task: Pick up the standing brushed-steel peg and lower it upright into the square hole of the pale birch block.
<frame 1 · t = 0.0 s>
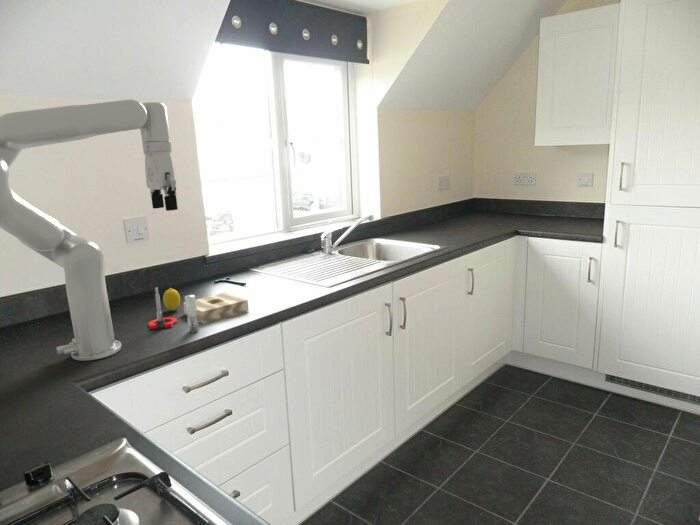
hand: (165, 209, 150), 37 cm above the worktop, tool pointing down, fingers open, 9 cm apart
tow hook: (162, 325, 164), on the worktop
lemon: (173, 311, 177), on the worktop
peg: (194, 331, 156), on the worktop
hole block: (216, 312, 172), on the worktop
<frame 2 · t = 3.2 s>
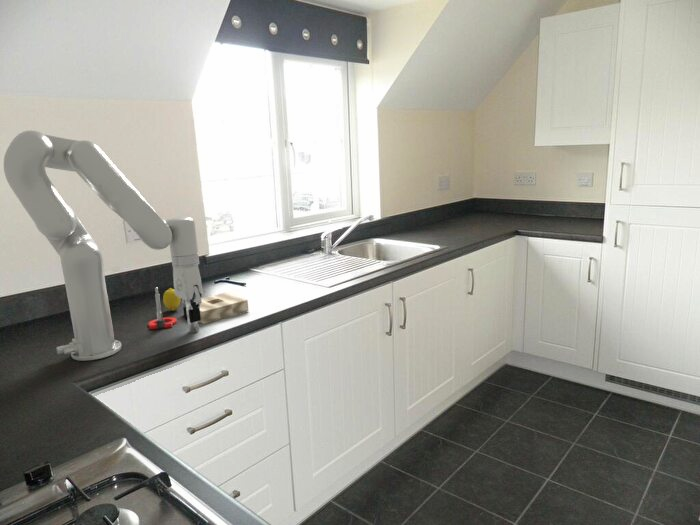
hand: (192, 319, 155), 4 cm above the worktop, tool pointing down, fingers closed on peg, 3 cm apart
peg: (194, 331, 156), on the worktop, touching gripper
everything else where it was.
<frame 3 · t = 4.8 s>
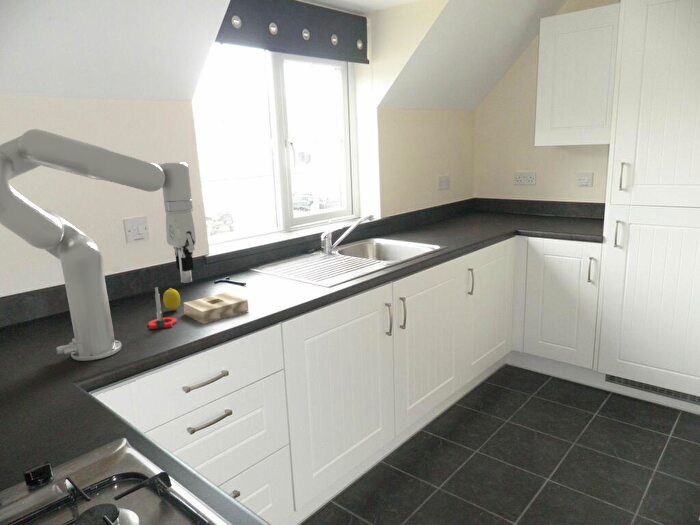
hand: (185, 269, 151), 19 cm above the worktop, tool pointing down, fingers closed on peg, 3 cm apart
peg: (186, 281, 152), point 16 cm above the worktop, touching gripper
everything else where it was.
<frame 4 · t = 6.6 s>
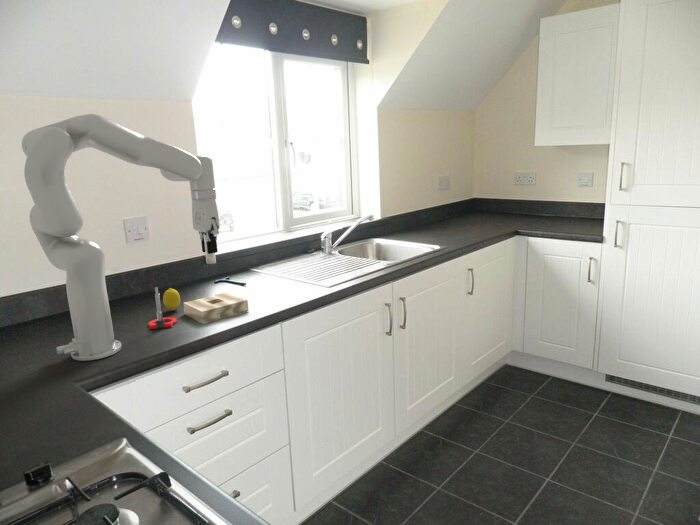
hand: (210, 251, 168), 21 cm above the worktop, tool pointing down, fingers closed on peg, 3 cm apart
peg: (211, 262, 168), point 17 cm above the worktop, touching gripper
everything else where it was.
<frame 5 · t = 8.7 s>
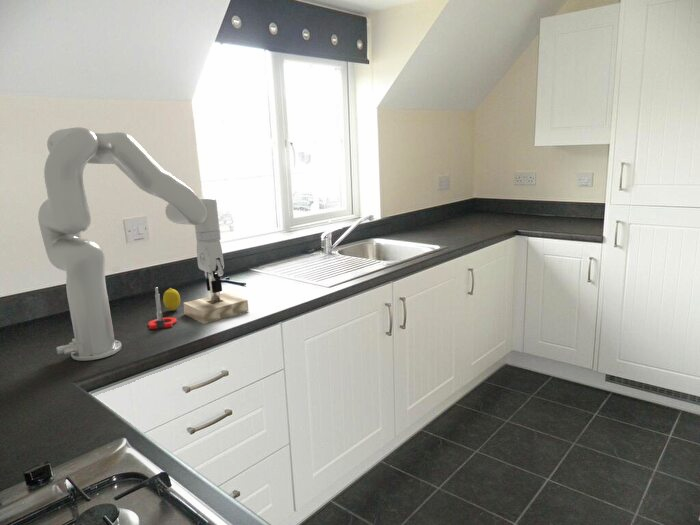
hand: (214, 290, 171), 8 cm above the worktop, tool pointing down, fingers closed on peg, 3 cm apart
peg: (216, 301, 172), point 4 cm above the worktop, touching gripper
everything else where it was.
when the fingers open (5 cm above the worktop, at t = 10.3 s): peg drops 1 cm, on the worktop.
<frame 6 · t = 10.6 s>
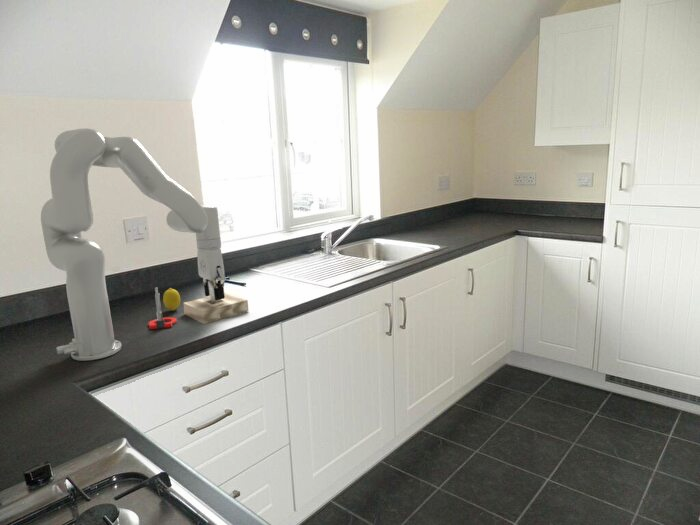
hand: (214, 296, 171), 6 cm above the worktop, tool pointing down, fingers open, 6 cm apart
peg: (216, 312, 172), on the worktop
everything else where it was.
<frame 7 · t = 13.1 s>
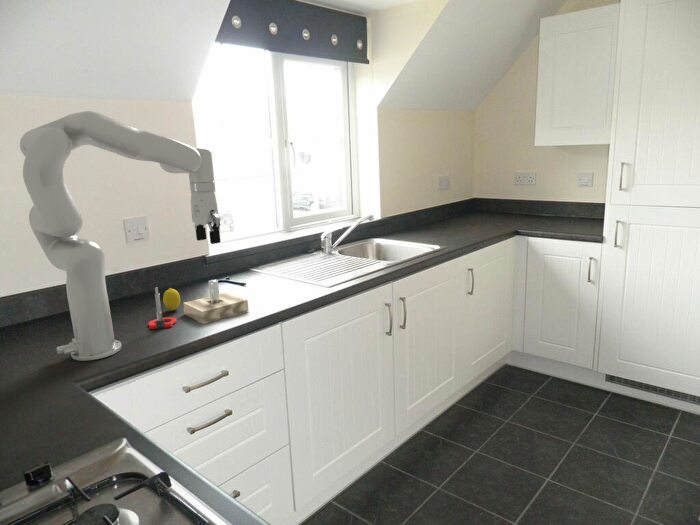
hand: (208, 241, 167), 24 cm above the worktop, tool pointing down, fingers open, 9 cm apart
nothing on the worktop moved.
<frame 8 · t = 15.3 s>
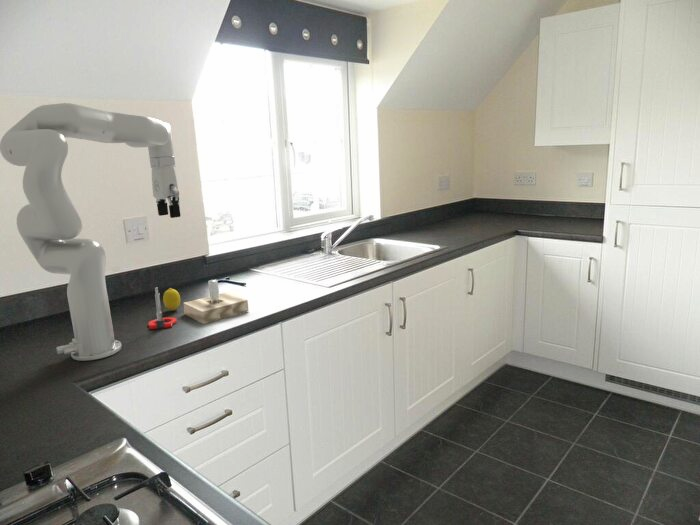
hand: (169, 216, 169), 32 cm above the worktop, tool pointing down, fingers open, 9 cm apart
nothing on the worktop moved.
at the end: peg 0.1 cm off-centre on the hole block, point 0.0 cm above the hole block's base; peg tilted 0°; the gripper is holding nothing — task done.
